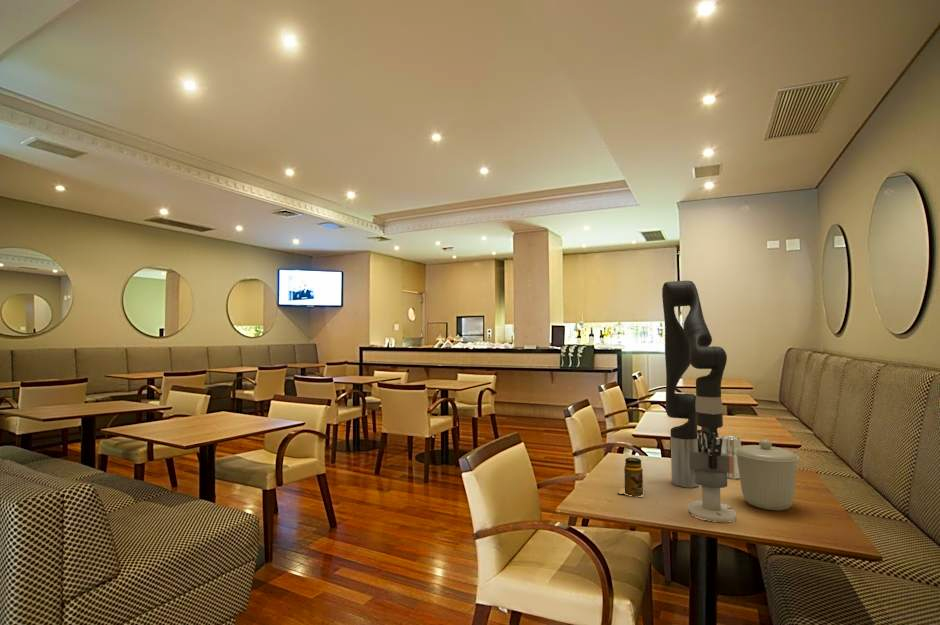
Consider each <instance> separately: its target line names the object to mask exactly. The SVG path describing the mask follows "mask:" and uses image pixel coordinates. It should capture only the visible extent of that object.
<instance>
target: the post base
mask: <svg viewBox="0 0 940 625" xmlns="http://www.w3.org/2000/svg"><path fill="white" fill-rule="evenodd" d="M701 496H702V497H701V500H693V501H691V502H689V503H688V513H689V512H690V513H691V514H692V515H694V516H696V517H699V518H702V519H706V520H710V521H716V522H729V521H733V520H735V519H736V518H737V514H736V513H737V512H736V509H735V508H734V507H733V506H730V505H728V504H726V503H721V488H711V487H705V486H701ZM692 515H691V516H692ZM735 521H736V520H735ZM733 522H734V521H733ZM729 523H730V522H729Z"/></svg>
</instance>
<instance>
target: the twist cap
mask: <svg viewBox="0 0 940 625" xmlns="http://www.w3.org/2000/svg"><path fill="white" fill-rule="evenodd" d="M688 457H689V469H690V470H694V471H695V483H697V484H699V486H701V487H702V486H705V487H711V488H720V489H723V488H726V487H728V478H727V473H732V474H734V456H733V455H732V454H723V453H721V456H718V457H717V469H710V468H709V455H708V452H702V451H698V452H695V451H688Z"/></svg>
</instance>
